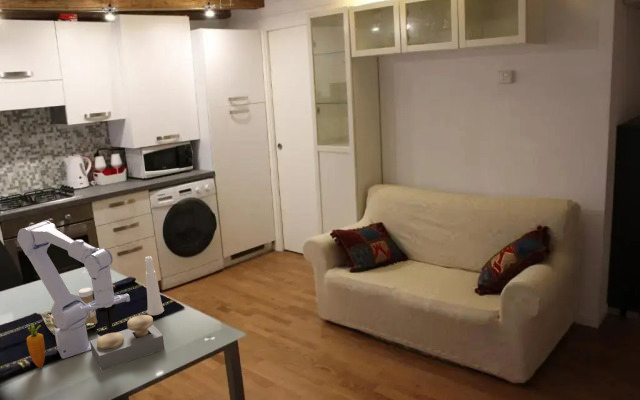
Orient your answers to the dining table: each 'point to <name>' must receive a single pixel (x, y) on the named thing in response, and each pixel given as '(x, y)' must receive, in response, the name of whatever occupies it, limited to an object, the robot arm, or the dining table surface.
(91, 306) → the robot arm
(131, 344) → the peg block
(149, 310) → the cosmetic bottle
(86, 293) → the sprinkles bottle
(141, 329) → the right peg
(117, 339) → the left peg
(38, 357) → the carrot
